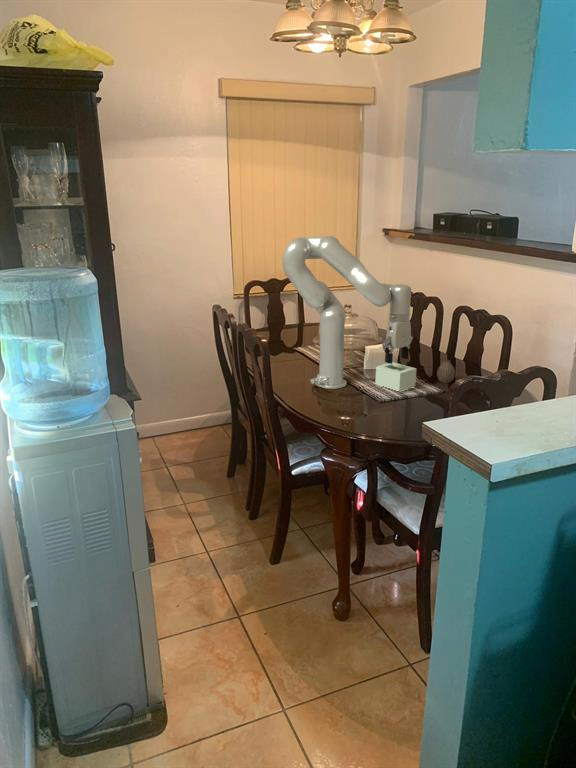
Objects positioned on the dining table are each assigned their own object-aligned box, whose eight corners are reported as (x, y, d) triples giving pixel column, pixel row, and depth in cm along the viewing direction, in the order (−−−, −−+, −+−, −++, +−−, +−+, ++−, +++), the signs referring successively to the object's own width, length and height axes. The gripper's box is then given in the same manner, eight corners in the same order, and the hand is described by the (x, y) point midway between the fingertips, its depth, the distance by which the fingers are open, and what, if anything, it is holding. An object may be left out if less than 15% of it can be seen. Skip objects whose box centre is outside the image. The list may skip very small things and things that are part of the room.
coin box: (399, 393, 218) (400, 373, 215) (375, 385, 226) (376, 366, 224) (415, 387, 224) (416, 368, 222) (391, 380, 233) (392, 362, 230)
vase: (454, 384, 228) (456, 363, 225) (436, 383, 229) (438, 362, 226) (453, 379, 234) (455, 359, 232) (436, 378, 236) (437, 358, 233)
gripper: (392, 322, 208) (389, 366, 214) (421, 316, 219) (418, 358, 225) (376, 319, 214) (374, 362, 219) (405, 313, 224) (402, 354, 230)
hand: (396, 360), depth 222 cm, fingers open, 9 cm apart
